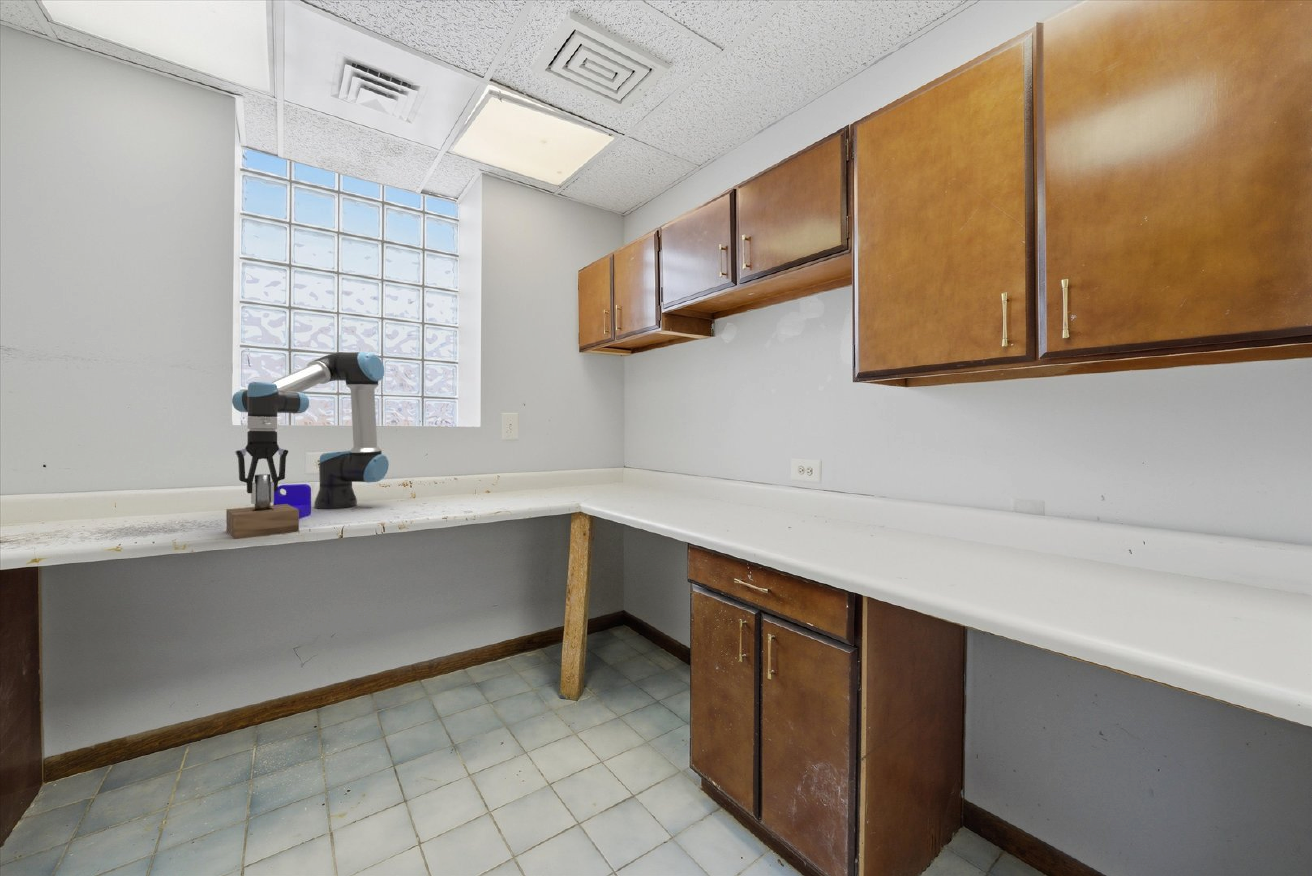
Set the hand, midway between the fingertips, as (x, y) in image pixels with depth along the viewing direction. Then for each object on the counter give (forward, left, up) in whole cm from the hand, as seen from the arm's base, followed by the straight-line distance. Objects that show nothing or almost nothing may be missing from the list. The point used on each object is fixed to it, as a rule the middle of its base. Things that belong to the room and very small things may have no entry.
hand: (262, 502), depth 159 cm
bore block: (0, 0, -9) cm, 9 cm away
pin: (0, 0, -5) cm, 5 cm away
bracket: (-20, +11, -10) cm, 25 cm away
